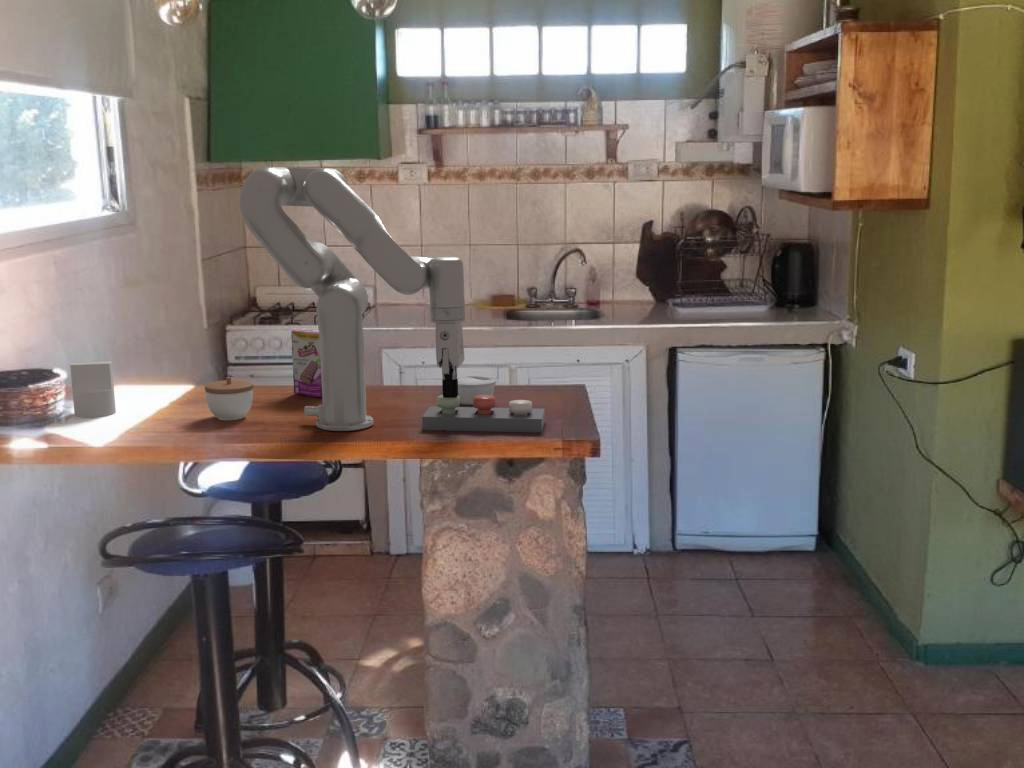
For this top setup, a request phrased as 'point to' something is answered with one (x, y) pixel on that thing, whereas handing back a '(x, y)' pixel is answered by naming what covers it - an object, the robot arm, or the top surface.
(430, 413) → the button panel
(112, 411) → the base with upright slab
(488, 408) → the button red
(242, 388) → the lidded jar
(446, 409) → the button sage
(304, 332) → the candy bar box
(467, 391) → the ramekin
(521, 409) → the button cream
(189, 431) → the top surface
